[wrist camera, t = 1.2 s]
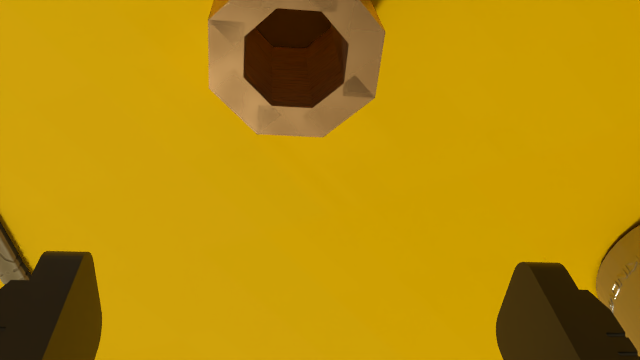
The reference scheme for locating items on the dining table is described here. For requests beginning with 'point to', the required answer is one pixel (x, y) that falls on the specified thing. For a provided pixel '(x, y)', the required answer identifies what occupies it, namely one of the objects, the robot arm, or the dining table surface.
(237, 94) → the copper ring
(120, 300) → the dining table surface
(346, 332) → the dining table surface
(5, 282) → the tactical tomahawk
